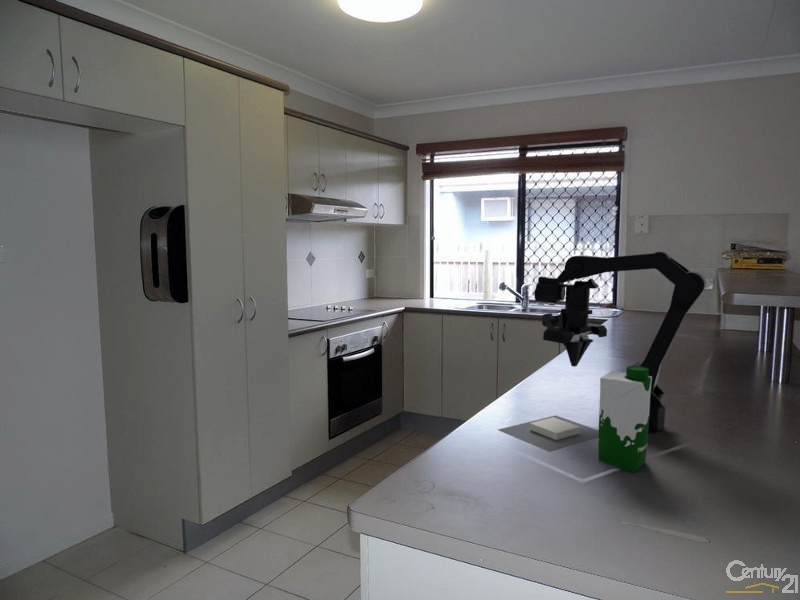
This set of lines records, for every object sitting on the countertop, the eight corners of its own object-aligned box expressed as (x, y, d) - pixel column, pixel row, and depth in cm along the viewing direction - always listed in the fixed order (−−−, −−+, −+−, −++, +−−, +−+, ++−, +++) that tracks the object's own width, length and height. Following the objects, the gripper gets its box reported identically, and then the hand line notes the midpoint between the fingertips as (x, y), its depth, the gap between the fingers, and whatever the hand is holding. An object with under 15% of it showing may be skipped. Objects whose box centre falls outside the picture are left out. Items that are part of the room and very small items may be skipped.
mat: (609, 436, 127) (609, 433, 127) (549, 454, 116) (549, 451, 116) (555, 417, 141) (555, 415, 140) (497, 432, 130) (497, 429, 130)
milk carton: (638, 475, 106) (643, 374, 104) (591, 463, 112) (595, 367, 109) (651, 461, 113) (656, 366, 110) (606, 451, 118) (610, 359, 116)
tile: (580, 426, 127) (556, 433, 122) (580, 434, 127) (556, 440, 122) (553, 417, 133) (529, 423, 129) (553, 424, 133) (529, 430, 129)
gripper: (573, 300, 150) (570, 356, 152) (527, 304, 139) (524, 364, 141) (609, 304, 141) (606, 364, 143) (563, 309, 130) (560, 373, 132)
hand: (574, 366), depth 140 cm, fingers closed
